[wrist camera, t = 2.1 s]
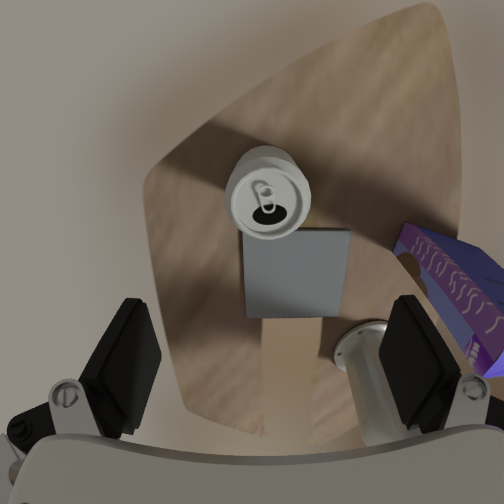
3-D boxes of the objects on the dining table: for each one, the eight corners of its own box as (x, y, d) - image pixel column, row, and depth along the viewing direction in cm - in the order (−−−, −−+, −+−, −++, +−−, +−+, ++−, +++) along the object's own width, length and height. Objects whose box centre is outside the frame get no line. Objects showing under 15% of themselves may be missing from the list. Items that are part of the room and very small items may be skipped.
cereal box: (392, 251, 38) (479, 381, 16) (404, 221, 36) (512, 339, 14) (467, 272, 39) (546, 368, 17) (479, 247, 37) (567, 338, 15)
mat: (349, 229, 36) (351, 231, 36) (337, 314, 43) (337, 316, 42) (242, 229, 37) (242, 231, 36) (246, 315, 43) (246, 318, 43)
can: (240, 208, 36) (230, 253, 25) (229, 149, 32) (213, 167, 22) (300, 201, 35) (317, 242, 24) (293, 140, 32) (310, 154, 21)
